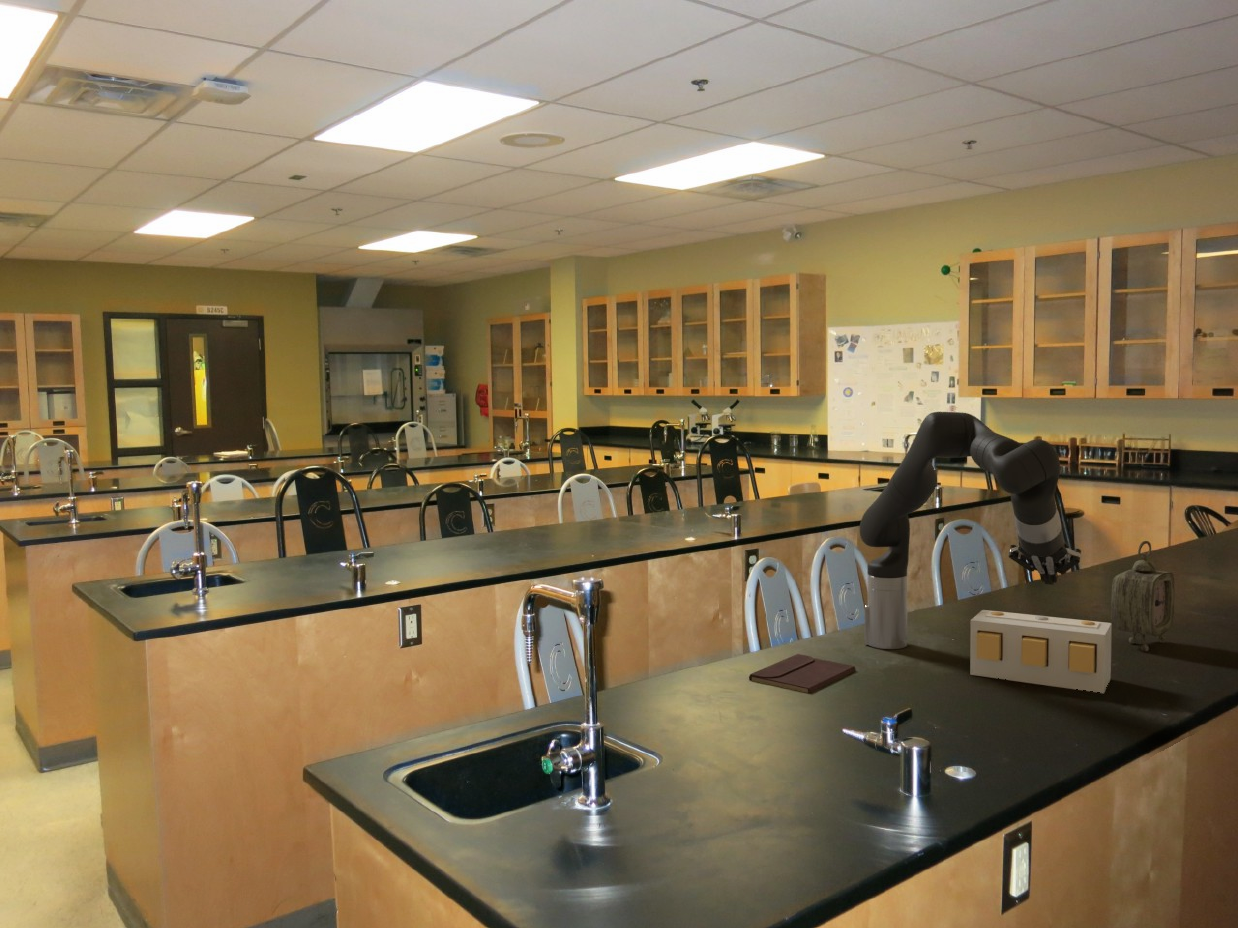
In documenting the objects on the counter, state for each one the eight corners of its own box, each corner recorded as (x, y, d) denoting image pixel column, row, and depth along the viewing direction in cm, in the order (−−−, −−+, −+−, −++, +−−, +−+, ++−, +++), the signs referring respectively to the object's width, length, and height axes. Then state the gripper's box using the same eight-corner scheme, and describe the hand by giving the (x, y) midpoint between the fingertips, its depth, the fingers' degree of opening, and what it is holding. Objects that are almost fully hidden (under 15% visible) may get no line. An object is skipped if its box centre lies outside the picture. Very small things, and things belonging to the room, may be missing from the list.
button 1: (976, 658, 204) (977, 634, 204) (980, 654, 206) (980, 630, 206) (998, 660, 202) (998, 636, 201) (1001, 657, 204) (1001, 633, 204)
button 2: (1069, 670, 194) (1069, 644, 194) (1071, 666, 197) (1071, 641, 196) (1093, 673, 192) (1093, 647, 191) (1095, 669, 194) (1095, 644, 194)
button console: (970, 674, 207) (970, 617, 206) (982, 661, 216) (982, 607, 215) (1103, 693, 193) (1104, 632, 192) (1110, 678, 202) (1111, 620, 201)
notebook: (855, 673, 212) (855, 664, 211) (810, 695, 197) (810, 686, 197) (796, 661, 222) (796, 653, 221) (748, 682, 207) (748, 673, 207)
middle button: (1021, 663, 199) (1022, 639, 199) (1024, 660, 202) (1024, 636, 201) (1044, 666, 197) (1044, 642, 196) (1047, 663, 199) (1047, 638, 199)
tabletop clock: (1149, 654, 219) (1152, 546, 217) (1108, 647, 225) (1110, 542, 223) (1173, 642, 228) (1175, 539, 226) (1133, 636, 235) (1135, 535, 233)
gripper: (1080, 511, 172) (1089, 567, 183) (1003, 508, 179) (1016, 562, 190) (1076, 544, 168) (1085, 600, 179) (996, 540, 175) (1010, 593, 186)
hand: (1049, 580), depth 184 cm, fingers closed
